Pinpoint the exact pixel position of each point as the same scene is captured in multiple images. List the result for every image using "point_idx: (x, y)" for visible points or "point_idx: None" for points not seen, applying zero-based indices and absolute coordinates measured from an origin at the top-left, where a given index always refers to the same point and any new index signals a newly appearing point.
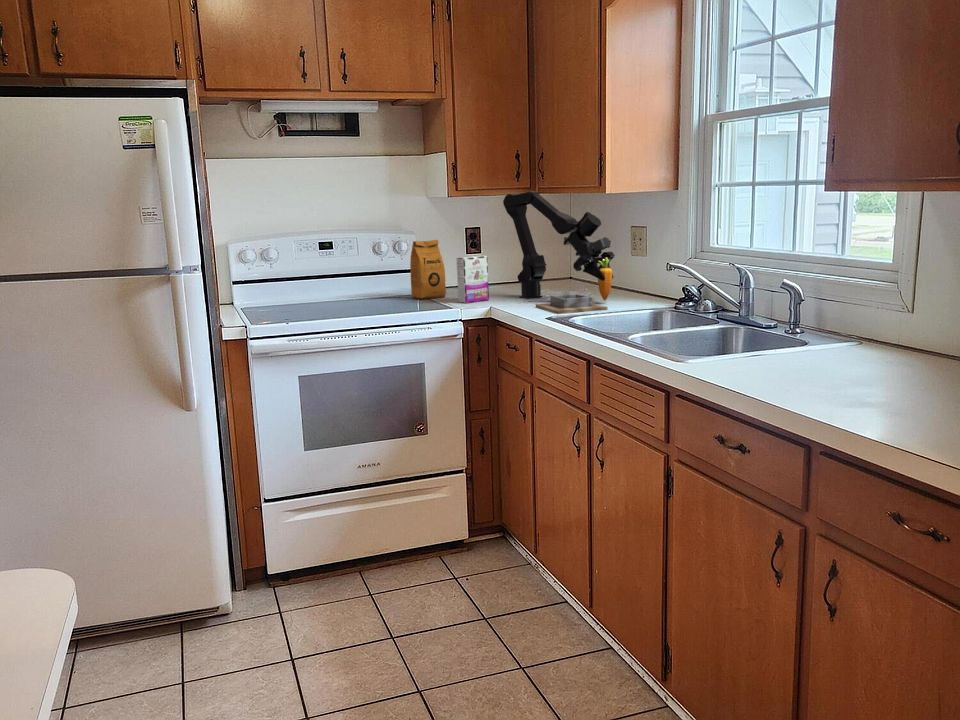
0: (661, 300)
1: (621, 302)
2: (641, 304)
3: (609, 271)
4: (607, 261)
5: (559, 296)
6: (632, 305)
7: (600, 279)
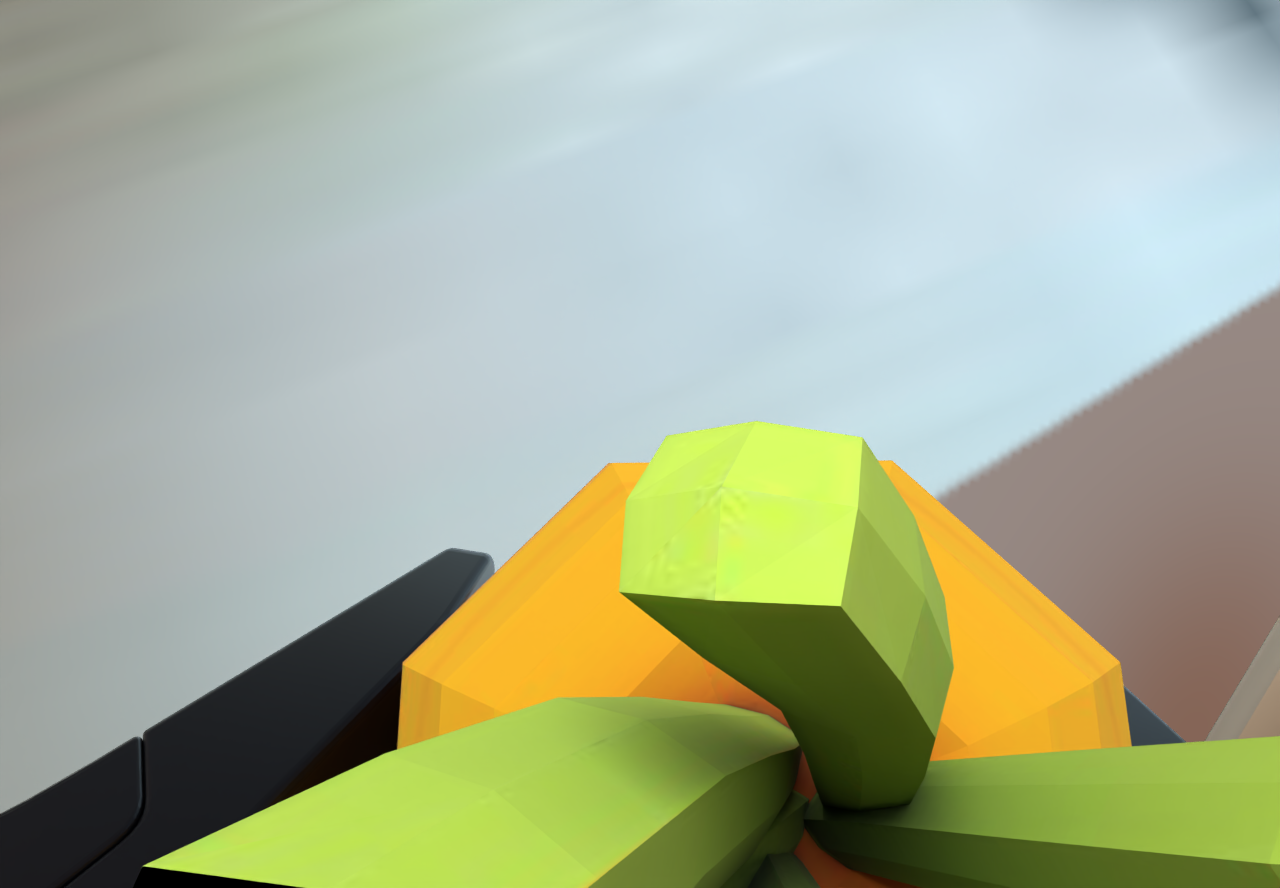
0: (9, 28)
1: (426, 527)
2: (557, 130)
3: (903, 481)
4: (921, 561)
5: None
6: (725, 212)
7: None
